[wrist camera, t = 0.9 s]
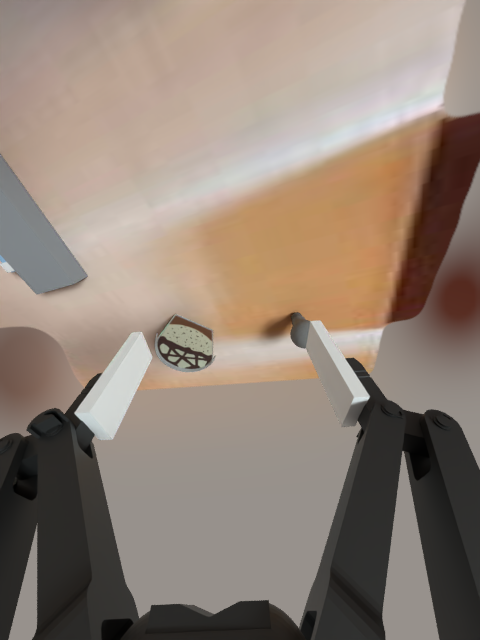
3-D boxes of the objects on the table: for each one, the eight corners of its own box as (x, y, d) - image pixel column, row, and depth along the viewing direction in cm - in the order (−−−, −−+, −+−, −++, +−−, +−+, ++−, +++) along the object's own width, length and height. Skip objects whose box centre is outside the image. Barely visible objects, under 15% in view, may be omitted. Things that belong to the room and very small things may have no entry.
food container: (160, 330, 46) (143, 361, 38) (168, 310, 44) (153, 339, 35) (207, 349, 50) (202, 381, 42) (218, 332, 47) (215, 362, 39)
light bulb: (310, 319, 46) (327, 348, 37) (287, 328, 47) (299, 358, 38) (303, 300, 43) (320, 326, 34) (279, 310, 44) (290, 338, 36)
